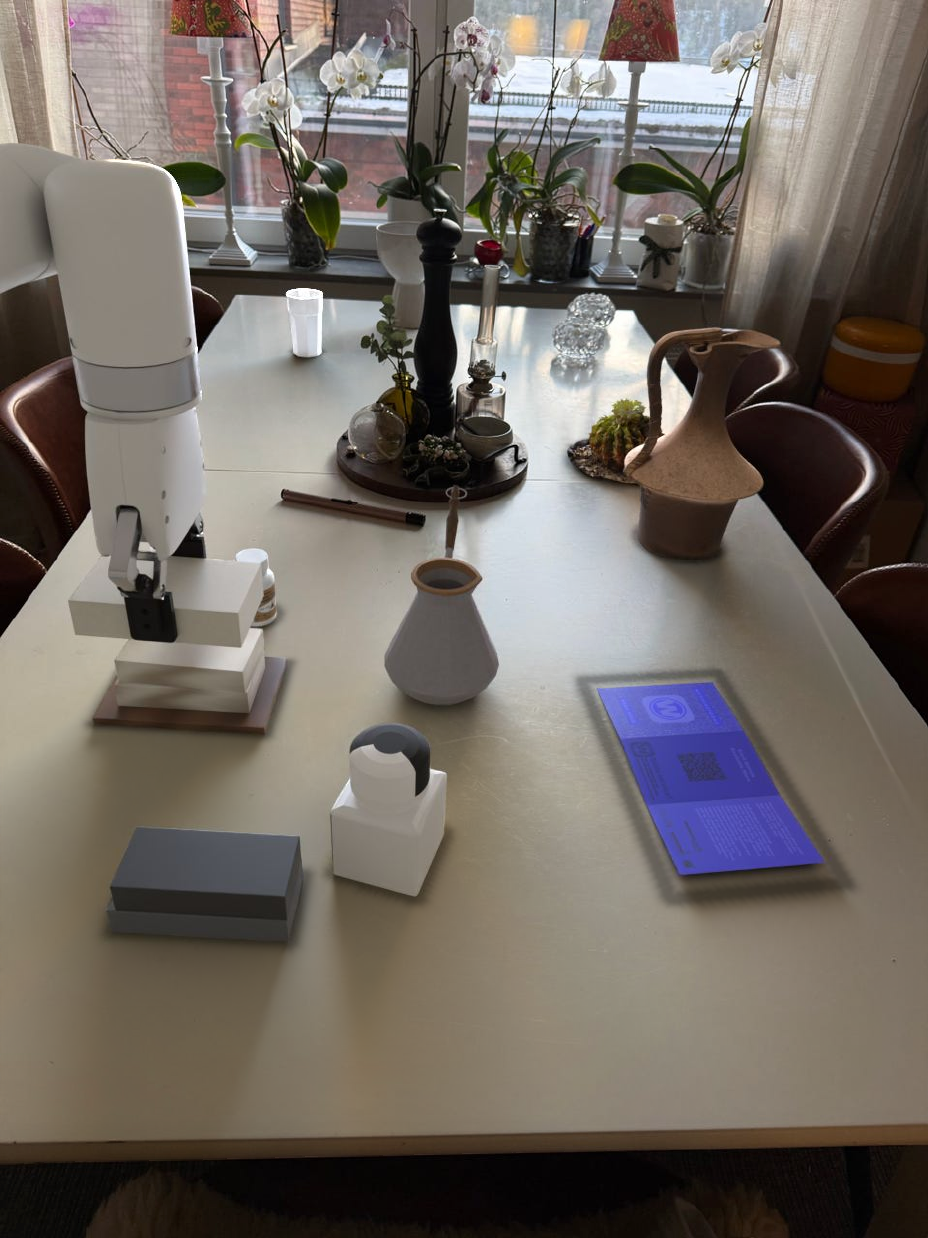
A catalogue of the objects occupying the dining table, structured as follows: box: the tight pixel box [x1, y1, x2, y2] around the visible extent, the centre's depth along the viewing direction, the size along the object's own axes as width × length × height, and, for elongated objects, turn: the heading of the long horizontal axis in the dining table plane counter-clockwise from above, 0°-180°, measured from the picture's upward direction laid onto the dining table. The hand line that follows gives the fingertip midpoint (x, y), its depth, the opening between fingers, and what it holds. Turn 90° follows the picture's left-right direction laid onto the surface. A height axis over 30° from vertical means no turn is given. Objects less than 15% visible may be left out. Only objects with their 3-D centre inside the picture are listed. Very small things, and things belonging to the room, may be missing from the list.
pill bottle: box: [234, 548, 278, 628], centre depth 101 cm, size 4×4×8 cm
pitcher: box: [623, 327, 781, 562], centre depth 115 cm, size 18×17×28 cm
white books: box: [92, 627, 288, 735], centre depth 90 cm, size 16×11×6 cm
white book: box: [67, 554, 264, 648], centre depth 69 cm, size 12×7×3 cm, turn 87°
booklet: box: [596, 681, 826, 876], centre depth 86 cm, size 12×25×1 cm, turn 8°
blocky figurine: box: [329, 722, 448, 897], centre depth 73 cm, size 7×7×12 cm
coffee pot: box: [383, 484, 500, 706], centre depth 95 cm, size 21×12×15 cm, turn 177°
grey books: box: [106, 826, 304, 943], centre depth 70 cm, size 13×6×5 cm, turn 88°
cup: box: [285, 288, 324, 358], centre depth 175 cm, size 7×7×11 cm
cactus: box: [566, 397, 666, 484], centre depth 140 cm, size 17×16×10 cm
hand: (171, 607), depth 70 cm, fingers closed on white book, 7 cm apart
